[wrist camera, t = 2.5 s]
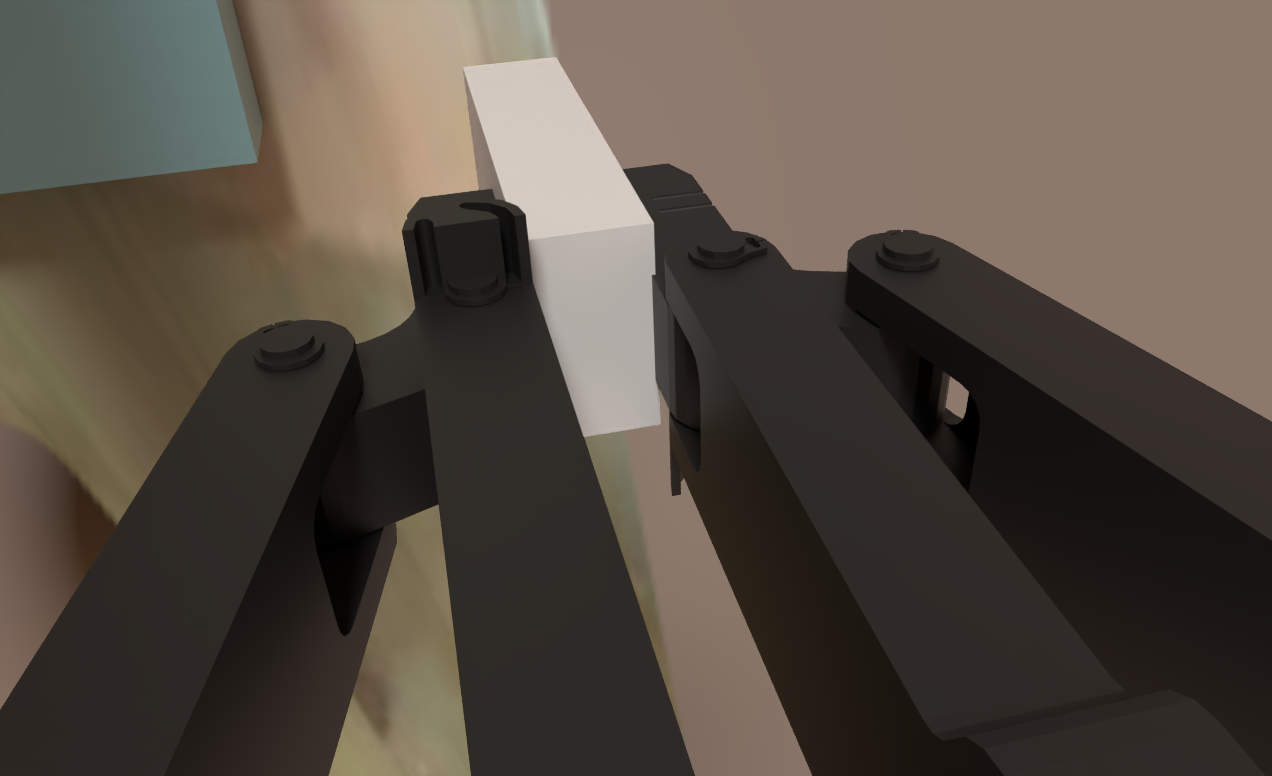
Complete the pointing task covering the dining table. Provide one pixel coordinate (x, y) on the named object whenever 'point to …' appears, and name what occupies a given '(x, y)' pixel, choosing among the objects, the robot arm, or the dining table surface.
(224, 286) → the dining table surface
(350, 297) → the dining table surface
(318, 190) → the dining table surface
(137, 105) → the slate blue rectangular box
